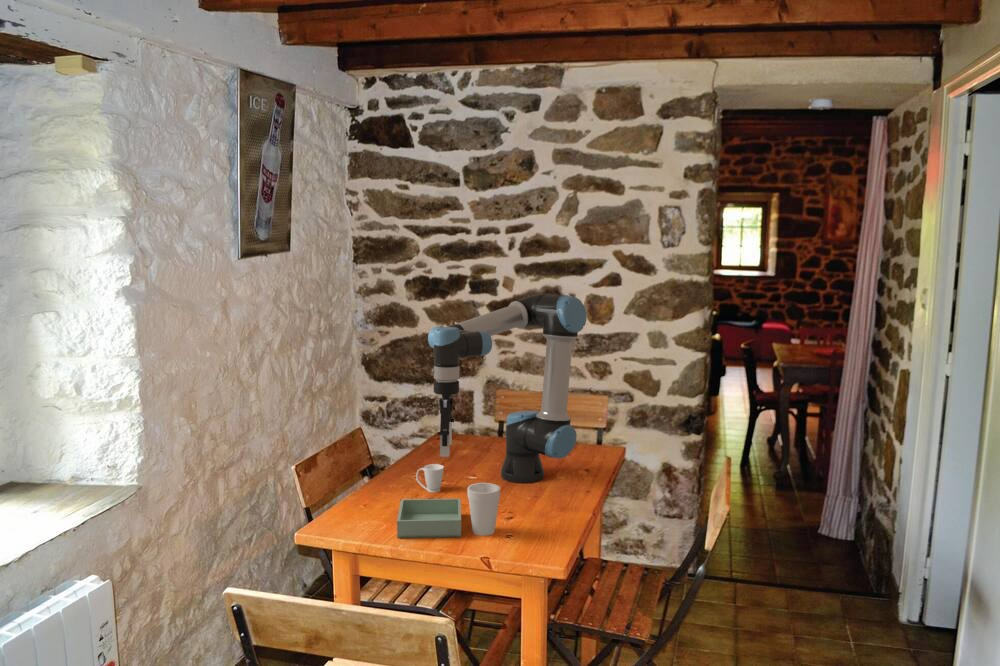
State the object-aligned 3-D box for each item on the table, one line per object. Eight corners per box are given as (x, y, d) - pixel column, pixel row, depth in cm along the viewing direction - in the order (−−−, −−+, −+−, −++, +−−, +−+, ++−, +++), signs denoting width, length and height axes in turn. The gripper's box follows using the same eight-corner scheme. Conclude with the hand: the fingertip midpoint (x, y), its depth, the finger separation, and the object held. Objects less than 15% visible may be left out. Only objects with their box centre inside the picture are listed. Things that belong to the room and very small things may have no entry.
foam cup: (466, 525, 237) (466, 483, 235) (498, 525, 237) (498, 482, 236) (468, 538, 227) (468, 493, 226) (500, 537, 228) (501, 493, 226)
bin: (460, 514, 246) (460, 498, 245) (461, 537, 228) (461, 520, 227) (401, 515, 245) (401, 499, 244) (397, 538, 227) (397, 521, 226)
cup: (438, 495, 263) (438, 471, 262) (411, 491, 267) (411, 467, 266) (448, 488, 269) (448, 465, 268) (421, 484, 273) (421, 461, 272)
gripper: (436, 372, 249) (436, 438, 252) (430, 388, 225) (430, 461, 228) (460, 372, 250) (460, 439, 252) (457, 388, 225) (457, 462, 228)
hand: (446, 450), depth 240 cm, fingers open, 13 cm apart
